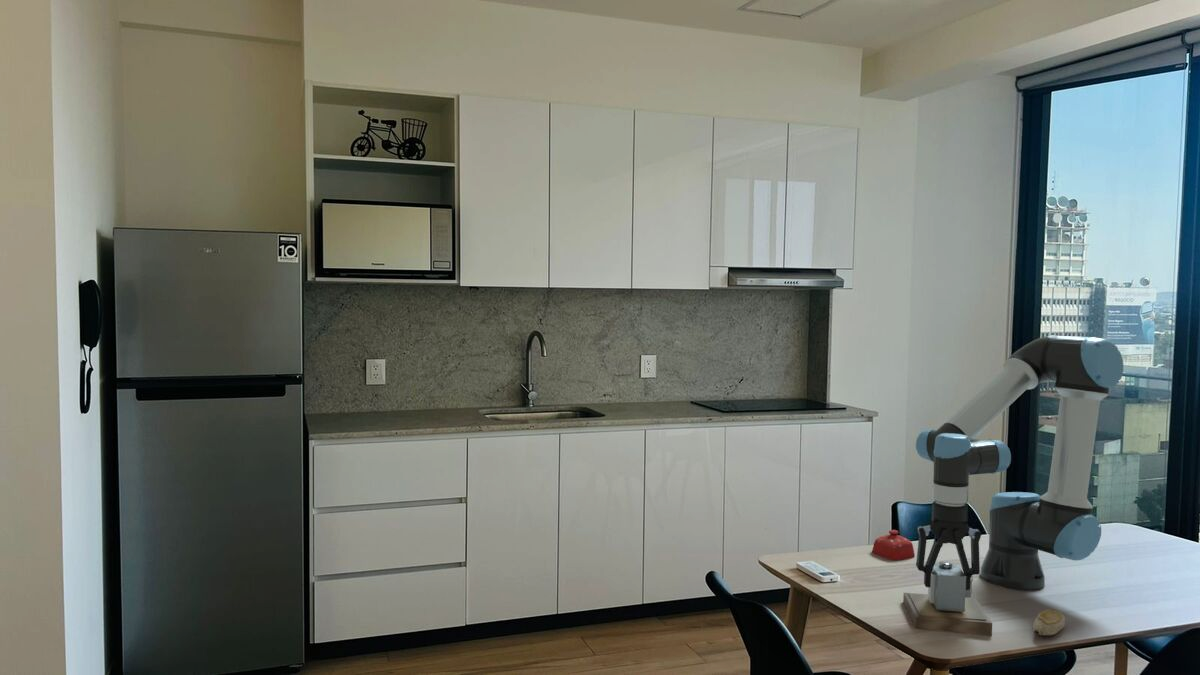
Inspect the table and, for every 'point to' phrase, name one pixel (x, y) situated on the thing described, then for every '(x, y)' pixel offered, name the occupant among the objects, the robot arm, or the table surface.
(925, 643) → the table surface
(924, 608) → the walnut riser
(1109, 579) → the table surface
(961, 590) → the grey knobbed box
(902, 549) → the butter dish
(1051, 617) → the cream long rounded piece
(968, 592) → the slate ceramic salt pot
